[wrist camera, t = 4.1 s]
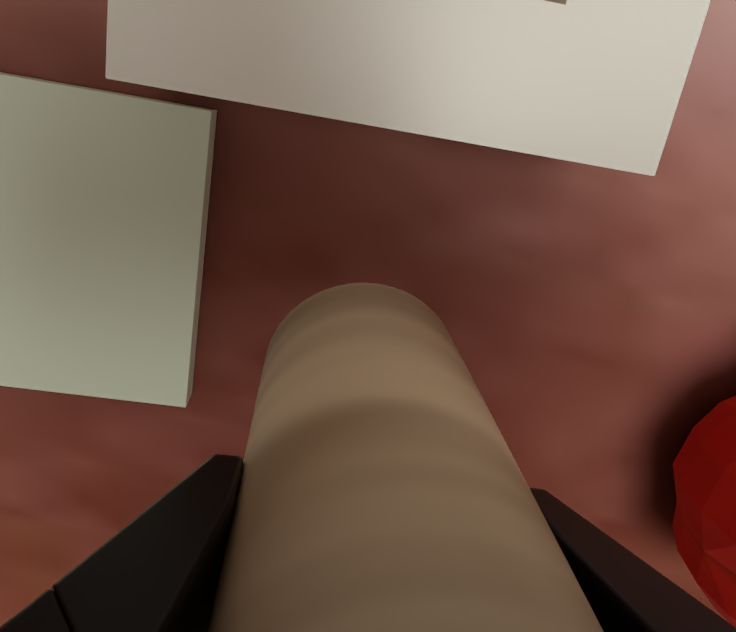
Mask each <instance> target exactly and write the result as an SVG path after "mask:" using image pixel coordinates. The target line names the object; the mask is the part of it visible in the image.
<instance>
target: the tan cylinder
mask: <svg viewBox="0 0 736 632" xmlns="http://www.w3.org/2000/svg"><path fill="white" fill-rule="evenodd" d="M208 632H604V631H603V629H602V627H601V626H600V624H599V622H598V620H597V618H596V616H595V614H594V612H593V610H592V608H591V606H590V604H589V602H588V600H587V598H586V597H585V595H584V593H583V591H582V589H581V587H580V585H579V583H578V581H577V579H576V577H575V575H574V573H573V571H572V570H571V568H570V566H569V564H568V562H567V560H566V558H565V556H564V554H563V552H562V550H561V548H560V546H559V544H558V543H557V541H556V539H555V537H554V535H553V533H552V531H551V529H550V527H549V525H548V523H547V521H546V519H545V517H544V515H543V514H542V512H541V510H540V508H539V506H538V504H537V502H536V500H535V498H534V496H533V494H532V492H531V490H530V488H529V487H528V485H527V483H526V481H525V479H524V477H523V475H522V473H521V471H520V469H519V467H518V465H517V463H516V461H515V460H514V458H513V456H512V454H511V452H510V450H509V448H508V446H507V444H506V442H505V440H504V438H503V436H502V434H501V432H500V431H499V429H498V427H497V425H496V423H495V421H494V419H493V417H492V415H491V413H490V411H489V409H488V407H487V405H486V404H485V402H484V400H483V398H482V396H481V394H480V392H479V390H478V388H477V386H476V384H475V382H474V380H473V378H472V377H471V375H470V373H469V371H468V369H467V367H466V365H465V363H464V361H463V359H462V357H461V355H460V353H459V351H458V349H457V348H456V346H455V344H454V342H453V340H452V338H451V336H450V334H449V332H448V330H447V329H446V327H445V325H444V324H443V322H442V321H441V319H440V318H439V317H438V316H437V315H436V313H435V312H434V311H433V310H432V309H431V308H429V307H428V306H427V305H426V304H425V303H424V302H422V301H421V300H419V299H418V298H416V297H415V296H413V295H411V294H409V293H407V292H405V291H403V290H400V289H397V288H394V287H391V286H387V285H382V284H376V283H350V284H344V285H338V286H335V287H332V288H328V289H325V290H323V291H321V292H319V293H316V294H314V295H312V296H311V297H309V298H307V299H306V300H304V301H303V302H301V303H300V304H299V305H298V306H296V307H295V308H294V309H293V310H292V311H291V312H290V313H289V314H288V315H287V316H286V317H285V318H284V319H283V320H282V322H281V323H280V325H279V326H278V327H277V329H276V331H275V332H274V334H273V336H272V338H271V340H270V343H269V346H268V349H267V351H266V356H265V361H264V366H263V371H262V375H261V380H260V385H259V390H258V395H257V399H256V404H255V409H254V414H253V419H252V423H251V428H250V433H249V438H248V443H247V447H246V452H245V457H244V462H243V470H242V474H241V479H240V484H239V489H238V494H237V499H236V503H235V508H234V513H233V518H232V523H231V527H230V531H229V535H228V539H227V543H226V548H225V553H224V558H223V563H222V567H221V572H220V577H219V582H218V587H217V591H216V596H215V601H214V606H213V611H212V615H211V620H210V625H209V630H208Z"/></svg>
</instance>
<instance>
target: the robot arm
mask: <svg viewBox="0 0 736 632" xmlns="http://www.w3.org/2000/svg"><path fill="white" fill-rule="evenodd" d="M242 470H243V459H242V458H241V457H239V456H230V455H220V454H216V455H213V456H212V457H211V458H209V459H208V460H207V461H206V462H204V463H203V464H202V465H201V466H199V467H198V468H197V469H196V470H195V471H193V472H192V473H191V474H190V475H188V476H187V477H186V478H185V479H183V480H182V481H181V482H180V483H179V484H177V485H176V486H175V487H174V488H172V489H171V490H170V491H169V492H167V493H166V494H165V495H164V496H163V497H161V498H160V499H159V500H158V501H156V502H155V503H154V504H153V505H151V506H150V507H149V508H148V509H147V510H145V511H144V512H143V513H142V514H140V515H139V516H138V517H137V518H135V519H134V520H133V521H132V522H131V523H129V524H128V525H127V526H126V527H124V528H123V529H122V530H121V531H119V532H118V533H117V534H116V535H115V536H113V537H112V538H111V539H110V540H108V541H107V542H106V543H105V544H103V545H102V546H101V547H100V548H99V549H97V550H96V551H95V552H94V553H92V554H91V555H90V556H89V557H87V558H86V559H85V560H84V561H82V562H81V563H80V564H79V565H78V566H76V567H75V568H74V569H73V570H71V571H70V572H69V573H68V574H66V575H65V576H64V577H63V578H62V579H60V580H59V581H58V582H57V583H55V584H54V585H53V587H52V590H51V589H49V590H46V591H45V592H44V593H43V594H41V595H40V596H39V597H38V598H37V599H35V600H34V601H33V602H32V603H30V604H29V605H28V606H27V607H25V608H24V609H23V610H22V611H20V612H19V613H18V614H16V615H15V616H14V617H13V618H11V619H10V620H9V621H7V622H6V623H5V624H3V625H2V626H1V627H0V632H208V630H209V625H210V620H211V615H212V611H213V606H214V601H215V596H216V591H217V587H218V582H219V577H220V572H221V567H222V563H223V558H224V553H225V548H226V543H227V539H228V535H229V531H230V527H231V523H232V518H233V513H234V508H235V503H236V499H237V494H238V489H239V484H240V479H241V474H242ZM530 490H531V492H532V494H533V496H534V498H535V500H536V502H537V504H538V506H539V508H540V510H541V512H542V514H543V515H544V517H545V519H546V521H547V523H548V525H549V527H550V529H551V531H552V533H553V535H554V537H555V539H556V541H557V543H558V544H559V546H560V548H561V550H562V552H563V554H564V556H565V558H566V560H567V562H568V564H569V566H570V568H571V570H572V571H573V573H574V575H575V577H576V579H577V581H578V583H579V585H580V587H581V589H582V591H583V593H584V595H585V597H586V598H587V600H588V602H589V604H590V606H591V608H592V610H593V612H594V614H595V616H596V618H597V620H598V622H599V624H600V626H601V627H602V629H603V631H604V632H736V628H735V627H734V626H732V625H731V624H730V623H728V622H727V621H726V620H724V619H723V618H721V617H720V616H719V615H717V614H716V613H715V612H713V611H712V610H710V609H709V608H708V607H706V606H705V605H703V604H702V603H701V602H699V601H698V600H697V599H695V598H694V597H692V596H691V595H690V594H688V593H687V592H685V591H684V590H683V589H681V588H680V587H679V586H677V585H676V584H674V583H673V582H672V581H670V580H669V579H667V578H666V577H665V576H663V575H662V574H661V573H659V572H658V571H656V570H655V569H654V568H652V567H651V566H649V565H648V564H647V563H645V562H644V561H643V560H641V559H640V558H638V557H637V556H636V555H634V554H633V553H631V552H630V551H629V550H627V549H626V548H625V547H623V546H622V545H620V544H619V543H618V542H616V541H615V540H614V539H612V538H611V537H609V536H608V535H607V534H605V533H604V532H602V531H601V530H600V529H598V528H597V527H596V526H594V525H593V524H591V523H590V522H589V521H587V520H586V519H584V518H583V517H582V516H580V515H579V514H578V513H576V512H575V511H573V510H572V509H571V508H569V507H568V506H566V505H565V504H564V503H562V502H561V501H560V500H558V499H557V498H555V497H554V496H553V495H551V494H550V493H549V492H547V491H545V490H543V489H536V488H530Z"/></svg>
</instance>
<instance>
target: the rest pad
mask: <svg viewBox="0 0 736 632" xmlns="http://www.w3.org/2000/svg"><path fill="white" fill-rule="evenodd" d="M216 118H217V110H214V109H208V108H202V107H197V106H191V105H185V104H179V103H174V102H168V101H162V100H157V99H151V98H145V97H140V96H134V95H128V94H123V93H117V92H111V91H106V90H100V89H94V88H89V87H83V86H77V85H72V84H66V83H60V82H54V81H49V80H43V79H37V78H32V77H26V76H20V75H15V74H9V73H3V72H0V386H8V387H16V388H25V389H33V390H42V391H50V392H59V393H67V394H76V395H84V396H93V397H101V398H110V399H118V400H127V401H135V402H144V403H152V404H161V405H169V406H178V407H186V406H187V404H188V401H189V399H190V397H191V394H192V388H193V377H194V365H195V354H196V343H197V332H198V320H199V309H200V298H201V287H202V276H203V264H204V253H205V242H206V231H207V219H208V208H209V197H210V186H211V174H212V163H213V152H214V141H215V129H216Z"/></svg>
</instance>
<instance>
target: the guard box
mask: <svg viewBox="0 0 736 632" xmlns="http://www.w3.org/2000/svg"><path fill="white" fill-rule="evenodd" d="M710 1H711V0H108V12H107V42H106V73H105V78H106V79H112V80H117V81H123V82H129V83H134V84H140V85H146V86H151V87H157V88H162V89H168V90H174V91H179V92H185V93H190V94H196V95H202V96H207V97H213V98H218V99H224V100H230V101H235V102H241V103H246V104H252V105H258V106H263V107H269V108H275V109H280V110H286V111H291V112H297V113H303V114H308V115H314V116H319V117H325V118H331V119H336V120H342V121H347V122H353V123H359V124H364V125H370V126H376V127H381V128H387V129H392V130H398V131H404V132H409V133H415V134H420V135H426V136H432V137H437V138H443V139H448V140H454V141H460V142H465V143H471V144H476V145H482V146H488V147H493V148H499V149H505V150H510V151H516V152H521V153H527V154H533V155H538V156H544V157H549V158H555V159H561V160H566V161H572V162H577V163H583V164H589V165H594V166H600V167H606V168H611V169H617V170H622V171H628V172H634V173H639V174H645V175H650V176H655V174H656V171H657V167H658V164H659V161H660V158H661V155H662V152H663V149H664V145H665V142H666V139H667V136H668V133H669V130H670V127H671V123H672V120H673V117H674V114H675V111H676V108H677V105H678V101H679V98H680V95H681V92H682V89H683V86H684V83H685V79H686V76H687V73H688V70H689V67H690V64H691V61H692V58H693V54H694V51H695V48H696V45H697V42H698V39H699V36H700V32H701V29H702V26H703V23H704V20H705V17H706V14H707V10H708V7H709V4H710Z"/></svg>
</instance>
